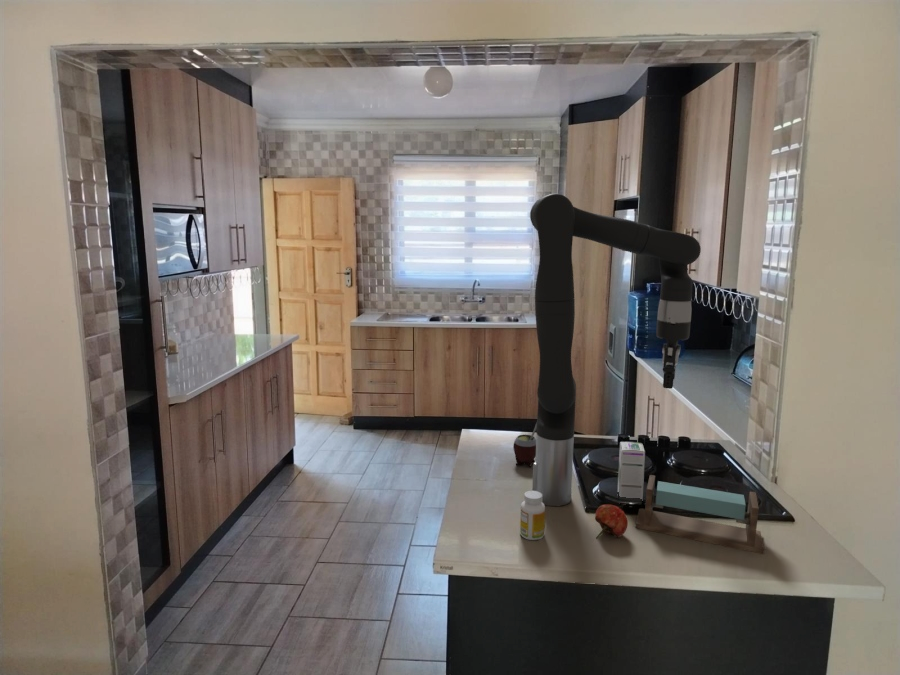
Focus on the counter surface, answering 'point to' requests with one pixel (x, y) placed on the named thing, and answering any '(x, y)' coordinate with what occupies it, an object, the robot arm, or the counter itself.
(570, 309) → the robot arm
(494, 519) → the counter surface
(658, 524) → the rack
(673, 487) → the teal rectangular block
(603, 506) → the red mushroom
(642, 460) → the syrup box
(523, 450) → the mate gourd
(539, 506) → the supplement bottle
